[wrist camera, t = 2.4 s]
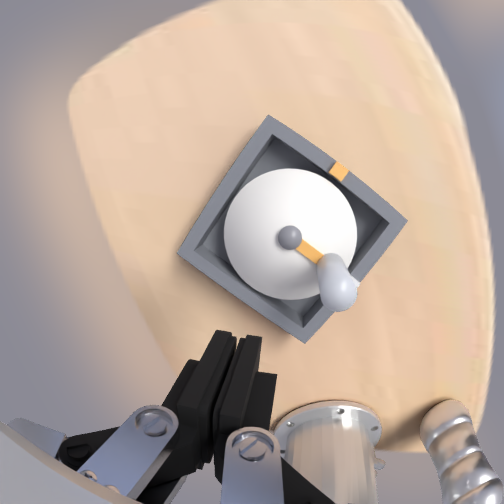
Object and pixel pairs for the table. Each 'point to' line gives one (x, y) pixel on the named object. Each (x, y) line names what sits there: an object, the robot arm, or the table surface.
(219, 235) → the housing
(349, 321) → the table surface
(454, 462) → the plastic bottle
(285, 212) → the white crank wheel
